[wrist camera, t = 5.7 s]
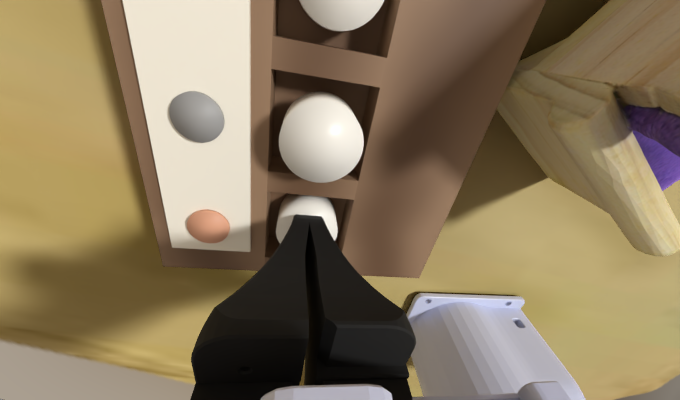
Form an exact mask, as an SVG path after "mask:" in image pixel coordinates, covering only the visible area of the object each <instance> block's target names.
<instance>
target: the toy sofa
mask: <svg viewBox="0 0 680 400" xmlns="http://www.w3.org/2000/svg"><path fill="white" fill-rule="evenodd" d="M497 111H498V112H499V113H500V115H501V116H502V117H503V119H504V120H505V122H506V123H507V124H508V126H509V127H510V128H511V130H512V131H513V132H514V134H515V135H516V136H517V138H518V139H519V140H520V142H521V143H522V144H523V146H524V147H525V148H526V150H527V151H528V152H529V154H530V155H531V156H532V157H533V159H534V160H535V161H536V162H537V164H538V165H539V166H540V167H541V169H542V170H543V172H544V173H545V174H546V176H548V177H549V178H550V179H552V180H553V181H554V182H556V183H558V184H560V185H562V186H563V187H565V188H567V189H569V190H570V191H572V192H574V193H575V194H577V195H579V196H581V197H582V198H584V199H586V200H587V201H589V202H591V203H592V204H594V205H596V206H597V207H599V208H601V209H602V210H604V211H606V212H607V213H609V214H610V215H611V217H612V218H613V219H614V221H615V222H616V224H617V225H618V227H619V228H620V229H621V231H622V232H623V234H624V235H625V237H626V238H627V239H628V241H629V242H630V243H631V245H632V246H633V247H634V248H635V249H637V250H638V251H641V252H643V253H645V254H649V255H653V256H667V255H671V254H673V253H675V252H677V251H678V250H680V226H679V223H678V221H677V219H676V217H675V216H674V214H673V212H672V210H671V208H670V206H669V204H668V202H667V200H666V198H665V196H664V194H663V192H662V191H663V190H665V189H666V188H668V187H669V186H671V185H672V184H673V183H674V182H676V181H678V180H680V0H610V1H608V2H607V3H606V4H605V5H604V6H603V7H602V8H601V9H600V10H599V11H597V12H596V13H595V14H594V15H593V16H592V17H591V18H590V19H589V20H587V21H586V22H585V23H584V24H583V25H582V26H581V27H579V28H578V29H577V30H576V31H575V32H573V33H572V34H571V35H570V36H569V37H568V38H566V39H564V40H562V41H560V42H558V43H556V44H554V45H552V46H550V47H548V48H546V49H544V50H541V51H539V52H537V53H535V54H533V55H531V56H529V57H527V58H525V59H523V60H521V61H518V63H517V65H516V68H515V70H514V72H513V74H512V76H511V79H510V81H509V83H508V85H507V87H506V89H505V92H504V94H503V96H502V98H501V100H500V103H499V105H498V107H497Z"/></svg>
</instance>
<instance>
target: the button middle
mask: <svg viewBox="0 0 680 400" xmlns="http://www.w3.org/2000/svg"><path fill="white" fill-rule="evenodd" d="M363 146H364V138H363V132H362V129H361V126H360V124H359V122H358V121H357V119H356V117H355V115H354V113H353V111H352V110H351V108H350V107H349V105H348V104H347V103H346V102H345V101H344V100H342V99H341V98H340V97H338V96H336V95H334V94H331V93H328V92H311V93H308V94H305V95H303V96H301V97H299V98H298V99H296V100H295V101H294V102H293V103H292V104H291V105H290V107H289V108H288V110H287V112H286V114H285V117H284V120H283V124H282V127H281V131H280V134H279V149H280V153H281V156H282V159H283V161H284V162H285V164H286V165H287V167H288V168H289V169H290V170H291V171H292V172H293V173H294V174H296V175H297V176H299V177H301V178H302V179H305V180H307V181H311V182H317V183H326V182H332V181H335V180H338V179H340V178H342V177H344V176H345V175H347V174H348V173H349V172H351V171H352V170H353V169H354V167H355V166H356V165H357V163H358V162H359V160H360V158H361V155H362V152H363Z"/></svg>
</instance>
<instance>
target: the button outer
mask: <svg viewBox="0 0 680 400" xmlns="http://www.w3.org/2000/svg"><path fill="white" fill-rule="evenodd" d="M299 1H300V4H301V6H302V8H303V9H304V11H305V12H306V14H307V15H308V17H309V18H310V19H311V20H312V21H313V22H315V23H316V24H317V25H319V26H320V27H322V28H324V29H327V30H330V31H349V30H353V29H356V28H359V27H361V26H363V25H364V24H366V23H367V22H368V21H370V20H371V19H372V18H373V17H374V16H375V14H376V13H377V12H378V11H379V9H380V8H381V6H382V4H383V2H384V0H299Z"/></svg>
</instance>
